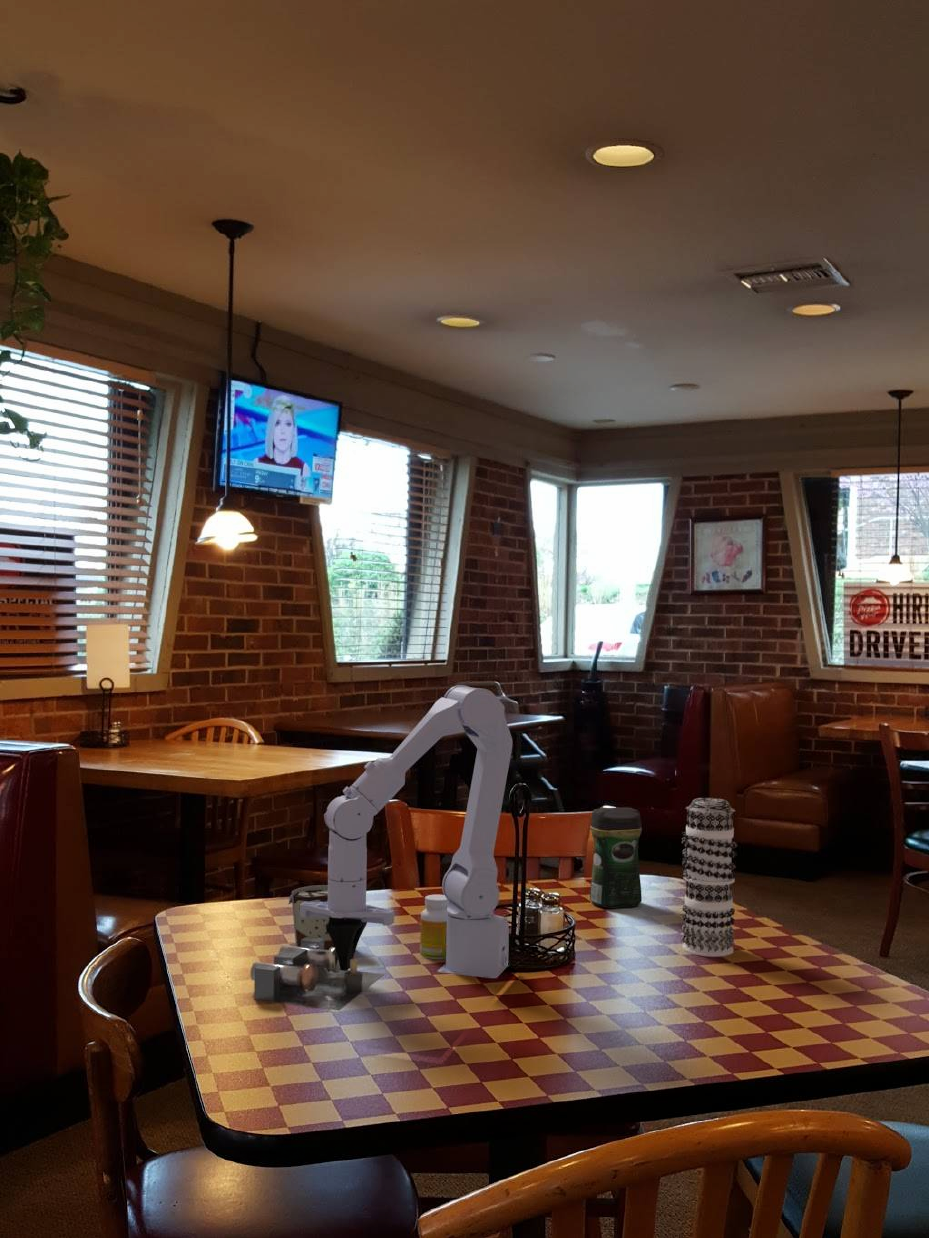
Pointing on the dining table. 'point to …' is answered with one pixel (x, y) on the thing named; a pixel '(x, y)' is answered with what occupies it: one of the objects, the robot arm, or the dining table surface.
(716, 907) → the decorative candle
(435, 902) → the supplement bottle
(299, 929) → the food container
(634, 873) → the coffee jar
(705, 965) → the dining table surface
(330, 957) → the silver long cylinder
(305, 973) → the copper-capped metal rod
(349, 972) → the potentiometer
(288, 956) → the mount
